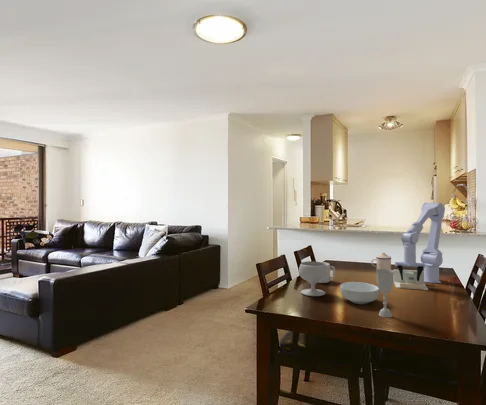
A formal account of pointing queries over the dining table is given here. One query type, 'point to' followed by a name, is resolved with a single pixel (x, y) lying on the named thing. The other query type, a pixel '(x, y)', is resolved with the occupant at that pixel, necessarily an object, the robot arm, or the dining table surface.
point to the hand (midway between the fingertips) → (410, 280)
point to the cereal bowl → (359, 292)
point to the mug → (327, 273)
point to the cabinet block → (410, 278)
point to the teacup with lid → (383, 261)
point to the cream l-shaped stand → (402, 284)
